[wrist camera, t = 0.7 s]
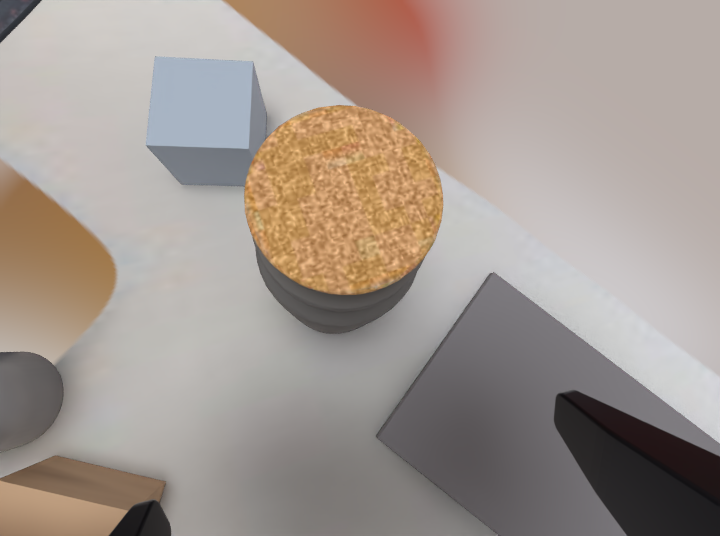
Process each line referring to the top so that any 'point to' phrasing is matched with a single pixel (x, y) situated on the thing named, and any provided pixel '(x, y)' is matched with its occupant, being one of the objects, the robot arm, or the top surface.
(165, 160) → the slate cube
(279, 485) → the top surface
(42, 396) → the charcoal cylinder
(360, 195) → the bottle
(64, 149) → the top surface
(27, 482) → the walnut block
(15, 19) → the wallet
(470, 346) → the mat
